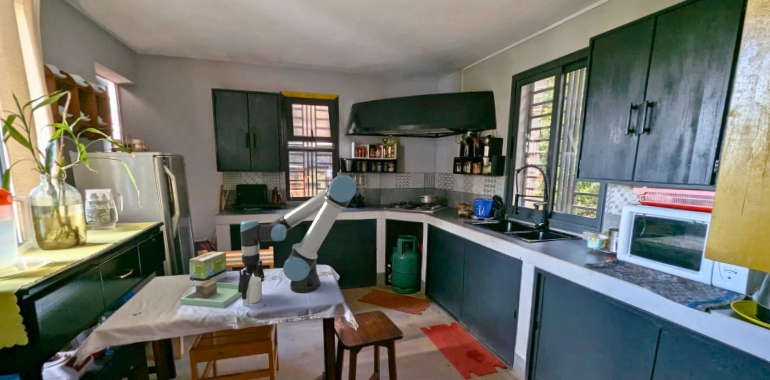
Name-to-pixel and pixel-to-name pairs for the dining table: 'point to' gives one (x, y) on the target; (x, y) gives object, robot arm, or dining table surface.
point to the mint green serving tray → (215, 296)
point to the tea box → (207, 267)
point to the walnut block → (206, 289)
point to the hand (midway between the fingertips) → (252, 299)
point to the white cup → (254, 289)
